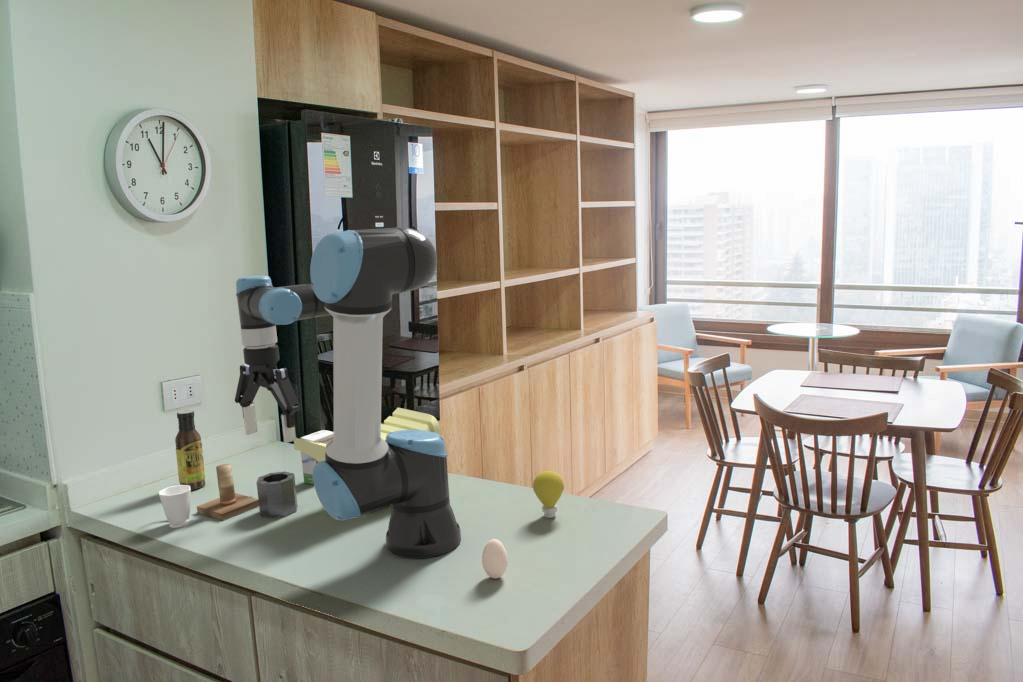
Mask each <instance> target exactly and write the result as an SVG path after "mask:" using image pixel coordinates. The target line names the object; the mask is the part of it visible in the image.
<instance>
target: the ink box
mask: <svg viewBox="0 0 1023 682" xmlns="http://www.w3.org/2000/svg"><path fill="white" fill-rule="evenodd" d="M333 438H334V431H330V430H325V429H322V430H319V431H316V432H313V433H312V432H311V433H310V434H308V435H307V434H306V435H304V436H301V437H300V439H302V440H305V441H310V442H314V443H324V444H327V443H328V442H330V441H331V440H332V439H333ZM300 455H301V456H300V457H301V465H302V475H303V483H305V484H308V485H309V484H310V485H314V482H313V468H314V467H315V465H316V464H317V463H319V462H318V461H317V460H316V459H314V458H313V457H311V456H310V455H308V454H306V453H304V452H301V451H300Z"/></svg>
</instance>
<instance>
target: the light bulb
mask: <svg viewBox="0 0 1023 682" xmlns="http://www.w3.org/2000/svg"><path fill="white" fill-rule="evenodd" d="M532 489H533V492H534V494H535V495H536V498H537V499H538V500H539V502H540V503H541V504H542V506H541V509H542V511H541V512H542V513H543V514H544V515H543V516H544V517H545V518H548V519H549V518H550V519H551V518H554V517H556V512H558V505H557V503H558V501H559V500H560V498H561V496H562V494H563V492H564V489H565V483H564V480H563V478H562V476H561V475H560V474H559V473H557V472H555V471H554V470H544V471H541V472H540V473H538V474H537V475H536V476H535V478H534V479H533V483H532Z"/></svg>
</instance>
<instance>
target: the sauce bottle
mask: <svg viewBox="0 0 1023 682" xmlns="http://www.w3.org/2000/svg"><path fill="white" fill-rule="evenodd" d="M176 418H177V420H178V421H177V422H178V431H177V434H176V436H175V438H174V441H175V453H176V454H175V456H176V463H177V464H176V465H177V474H178V475H177V476H178V482H179V485H189V486H190V488H191V491H192V490H193V491H194V490H198V489H200V488H203V487H204V486H206V481H205V480H206V474H205V473H206V471H205V463H204V454H203V453H204V452H203V442H202V437H201V435H200V433H199V432H198V430H196V425H195V411H194V410H193V409H182V410H179V411H177V412H176Z"/></svg>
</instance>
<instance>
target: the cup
mask: <svg viewBox="0 0 1023 682" xmlns="http://www.w3.org/2000/svg"><path fill="white" fill-rule="evenodd" d="M191 492H192V490H191V488H190V486H189V485H180V484H178V485H172V486H171V485H170V486H168V487H165V488H163V489H161V490H159V491H158V494H159V495H158V496H159V499H160V503H161V506H162V509H163V512H164V515H165V518H166V519H167V521H168V523H169V528H174V529H178V528H182V527H185V526H187V525H188V524H190V520H189V519H190V515H191Z"/></svg>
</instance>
